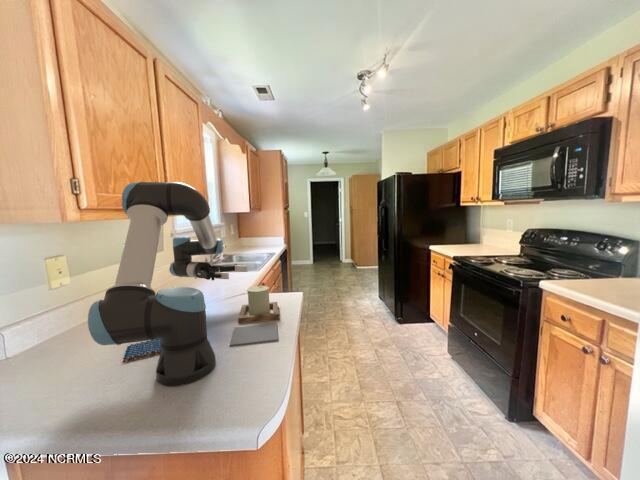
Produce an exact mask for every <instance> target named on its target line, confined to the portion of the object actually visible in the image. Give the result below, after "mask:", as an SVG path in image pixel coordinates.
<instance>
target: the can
mask: <svg viewBox="0 0 640 480" xmlns="http://www.w3.org/2000/svg"><path fill="white" fill-rule="evenodd" d="M247 300H248V303H247V304H249V310H248V315H258V314H268V313H271V310H270V309H271V308H270V305H269V302H270V287H269V286H267V285H254V286H250V287H248V288H247Z"/></svg>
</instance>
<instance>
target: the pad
mask: <svg viewBox="0 0 640 480" xmlns="http://www.w3.org/2000/svg"><path fill="white" fill-rule="evenodd" d="M278 341H279V335H278V323H277V322H276V323H273V322H272V323H265V324H255V325H245V326H236V327H234V329H233V331H232V335H231V338H230V342H229V348H231V347H238V346H239V347H240V346H247V345H255V344H257V345H258V344H263V343H264V344H265V343H273V342H278Z"/></svg>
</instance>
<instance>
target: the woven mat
mask: <svg viewBox="0 0 640 480" xmlns="http://www.w3.org/2000/svg"><path fill="white" fill-rule="evenodd" d="M125 349H126V350H125V352H124V355H123V357H122V359H123V360H122V362H123V363H127V362H128V363H129V361H130V362H133V360H134V361H137V360H138V359H139V360H141V359H142V357H143V359H146V357H147V358H149V357H151V356H152V357H153V356H154V355H155V356H158V354H160V353H161V341H160V339H155V340H147V341H140V342H135V343H133V344H132V343H131V344H129V345H127V346H126V348H125Z"/></svg>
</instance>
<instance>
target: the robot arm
mask: <svg viewBox="0 0 640 480" xmlns="http://www.w3.org/2000/svg"><path fill="white" fill-rule="evenodd" d="M121 200H122V201H121V207H122V210H123V212H124V214H125V215H126V216H127V218H128V219H129V220H130V222H129V226H128V229H127V233H126V237H125V238H126V239H125V241H124V242H125V243H124V247H123V250H122V254H121V258H120V263H119V266H118V270H117V275H116V279H115V282H114V285H113V286H111V287H108V289H107V290H105V294H104V297H103V299H99V300H97V301H94V302H93V303H92V304H91V306H90V307H89V309H88V314H87V328H88V330H89V331H88V332H89V334H90V336H91V339H93V340H94V342H95V343H97V344H98V345H101V346H111V345H112V346H113V345H116V346H121V345H122V344H130V343H131V344H132V343H140V342H146V341H151V340H156V339H160V340H159V341H161V353H160V352H159V357H158V361H157V365H156V367H155V368H156V369H155V376H156V381H157V383H158V384H160V385H162V386H165V387H179V386H186V385H189V384H191V383H195V382H198V381H199V380H201V379H203V378H205V377H207V375H209V374H211V373H212V372H213V370H214V369H215V368H216V364H217V360H216V353H215V352H214V349H213V347H212V346H211V343H210V341H209V339H208V338H209V337H208V330H207V329H208V328H207V326H208V325H207V313H206V312H207V311H206V309H207V305H206V303H205V302H206V301H205V295H204V293H203V292H202V291H201V290H200V289H197V288H195V287H189V286H171V287H165V288H162V289H160V290H158V291H157V292H156V291H155V290H154V289H153V288H152V283H153V276H154V270H155V264H156V258H157V253H158V247H159V242H160V236H161V235H160V234H161V230H162V226H163V225H164V224H166V223H167V222H168V218H169V216H184V218H185V219H186V220H188V221H189V222H190V224H191V227H192V229H193V231H194V233H195V236H196V239H191V237H190V236H189V235H183V236H182V235H181V236H175V237H173V238H172V250H173V259H174V260H173V261H172V262H171V263H170V265H169V269H168V271H169V273H170V274H171V275H172V276H174V277H178V278H194V279H205V280H207V281H209V280H211V281H215V279H217V280H230V273H229V272H233V271H235V272H239V273H241V272H243V273H247V272H249V270H248V269H249V268H248V265H239V264H237V263H235V264H218V265H212V264H211V263H209V262H207V261H192V260H193V259H192V258H193V256H195V257H196V256H204V255H205V256H209V255H210V256H211V255H221V254H223V252H224V242H223V239H222V238H217V236H216V233H215V229H214V227H213V224H212V221H211V218H210V213H211V212H210V211H211V208H210V205H209V203H208V201H207V199H206V197H204V195H203V194H202V193H201V192H200V191H198V190H197V188H194V187H193V186H191V185H189V184H186V183H183V182H181V181H180V182H179V181H173V182H172V181H169V182H168V181H166V182H165V181H162V182H161V181H160V182H159V181H158V182H157V181H155V182H153V181H139V182H136V181H135V182H130V183H129V184H127V185H126V186H125V187H124V189H123V190H122V193H121Z"/></svg>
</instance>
